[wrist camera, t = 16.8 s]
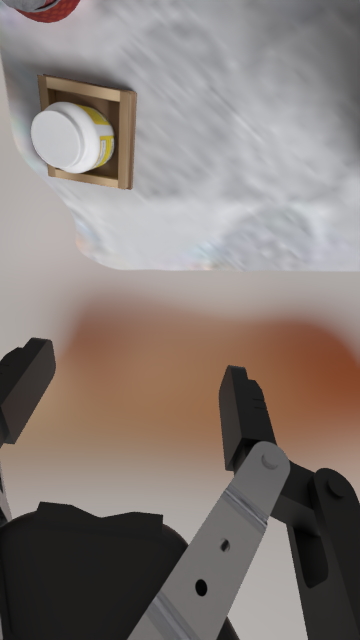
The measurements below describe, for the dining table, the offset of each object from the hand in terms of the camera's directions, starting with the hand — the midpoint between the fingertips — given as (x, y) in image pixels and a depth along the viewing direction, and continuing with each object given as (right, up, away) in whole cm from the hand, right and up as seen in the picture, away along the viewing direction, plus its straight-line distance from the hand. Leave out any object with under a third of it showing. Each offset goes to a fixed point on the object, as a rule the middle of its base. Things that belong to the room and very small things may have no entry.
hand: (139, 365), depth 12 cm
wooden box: (-8, +23, +18) cm, 30 cm away
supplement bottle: (-8, +22, +18) cm, 29 cm away
